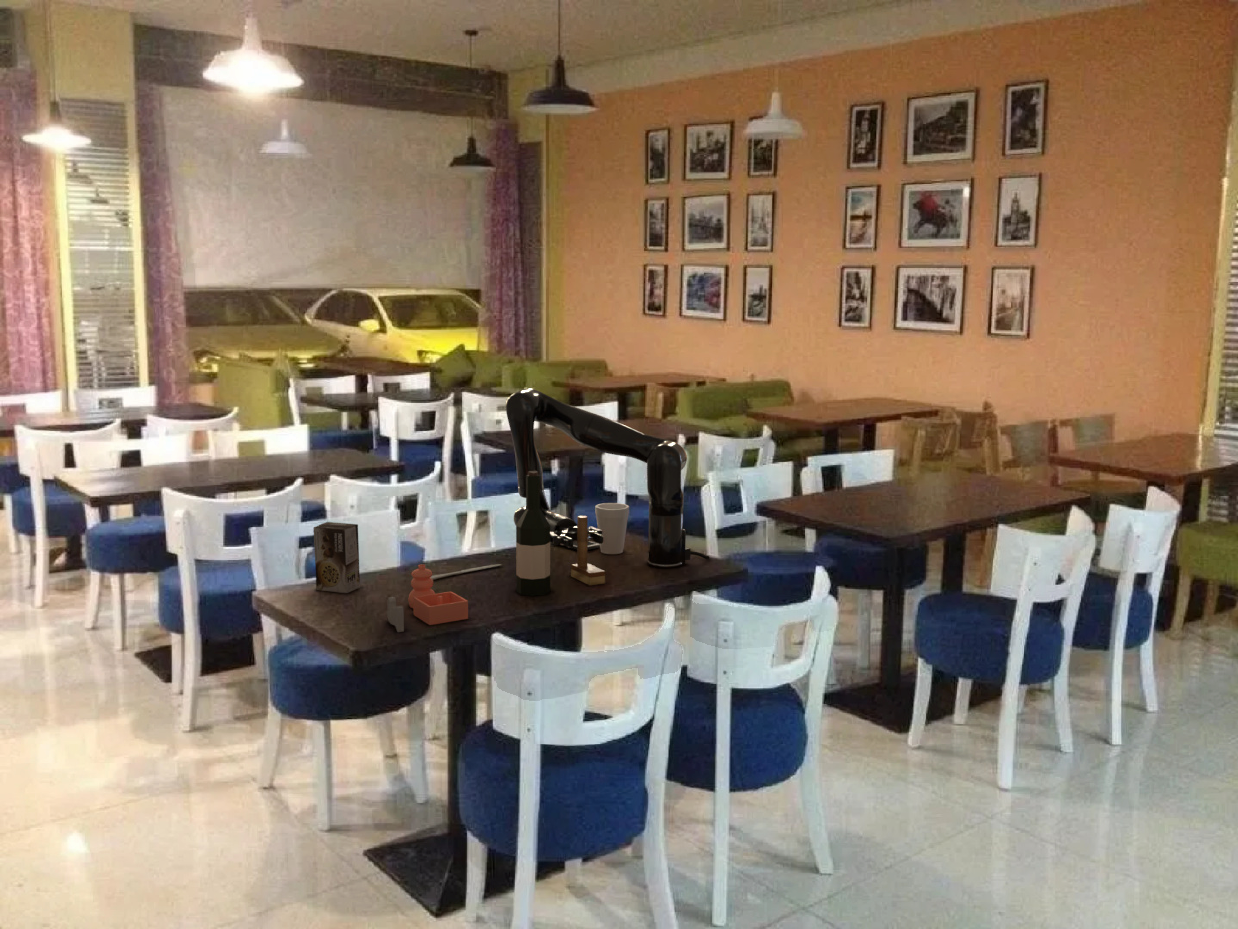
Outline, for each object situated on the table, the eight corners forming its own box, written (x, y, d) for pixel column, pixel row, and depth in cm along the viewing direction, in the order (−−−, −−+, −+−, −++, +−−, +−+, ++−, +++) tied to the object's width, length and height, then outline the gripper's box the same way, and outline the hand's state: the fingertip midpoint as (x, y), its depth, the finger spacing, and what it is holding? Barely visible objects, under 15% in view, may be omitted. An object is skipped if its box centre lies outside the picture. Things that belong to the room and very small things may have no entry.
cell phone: (568, 538, 342) (568, 535, 342) (602, 547, 331) (602, 544, 331) (548, 542, 337) (548, 539, 337) (581, 551, 326) (581, 548, 326)
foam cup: (594, 547, 332) (594, 503, 329) (626, 547, 333) (626, 502, 330) (597, 555, 322) (597, 510, 320) (630, 555, 323) (630, 509, 321)
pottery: (468, 618, 264) (467, 576, 262) (429, 625, 259) (428, 582, 257) (435, 599, 279) (435, 559, 277) (398, 605, 274) (397, 564, 272)
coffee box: (361, 587, 288) (359, 524, 286) (346, 594, 282) (345, 529, 280) (329, 583, 291) (327, 521, 289) (314, 590, 285) (312, 526, 283)
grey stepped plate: (397, 632, 253) (386, 619, 262) (404, 632, 254) (392, 618, 263) (397, 607, 252) (386, 595, 261) (403, 606, 253) (392, 594, 262)
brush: (571, 576, 301) (571, 516, 298) (585, 574, 303) (586, 514, 300) (589, 585, 292) (590, 523, 289) (605, 583, 294) (605, 521, 292)
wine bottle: (549, 596, 283) (549, 474, 278) (515, 596, 282) (514, 474, 277) (550, 586, 291) (550, 468, 286) (517, 586, 291) (516, 468, 285)
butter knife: (420, 577, 296) (426, 579, 294) (498, 562, 311) (504, 565, 309) (420, 578, 296) (426, 581, 294) (498, 564, 311) (504, 566, 309)
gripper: (534, 517, 306) (562, 530, 292) (582, 512, 313) (611, 524, 299) (534, 545, 308) (562, 559, 294) (582, 539, 314) (611, 552, 301)
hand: (586, 541), depth 296 cm, fingers open, 8 cm apart
